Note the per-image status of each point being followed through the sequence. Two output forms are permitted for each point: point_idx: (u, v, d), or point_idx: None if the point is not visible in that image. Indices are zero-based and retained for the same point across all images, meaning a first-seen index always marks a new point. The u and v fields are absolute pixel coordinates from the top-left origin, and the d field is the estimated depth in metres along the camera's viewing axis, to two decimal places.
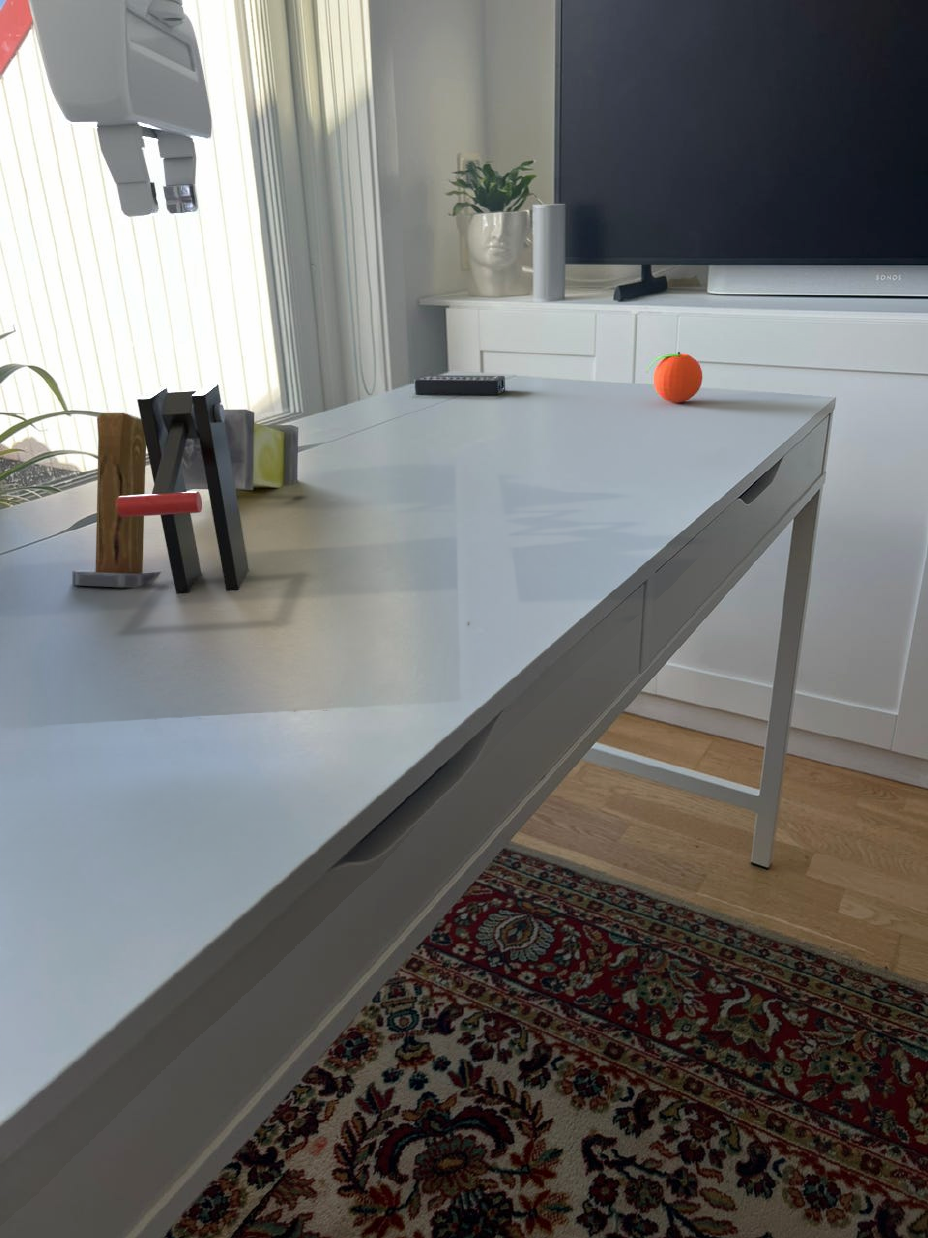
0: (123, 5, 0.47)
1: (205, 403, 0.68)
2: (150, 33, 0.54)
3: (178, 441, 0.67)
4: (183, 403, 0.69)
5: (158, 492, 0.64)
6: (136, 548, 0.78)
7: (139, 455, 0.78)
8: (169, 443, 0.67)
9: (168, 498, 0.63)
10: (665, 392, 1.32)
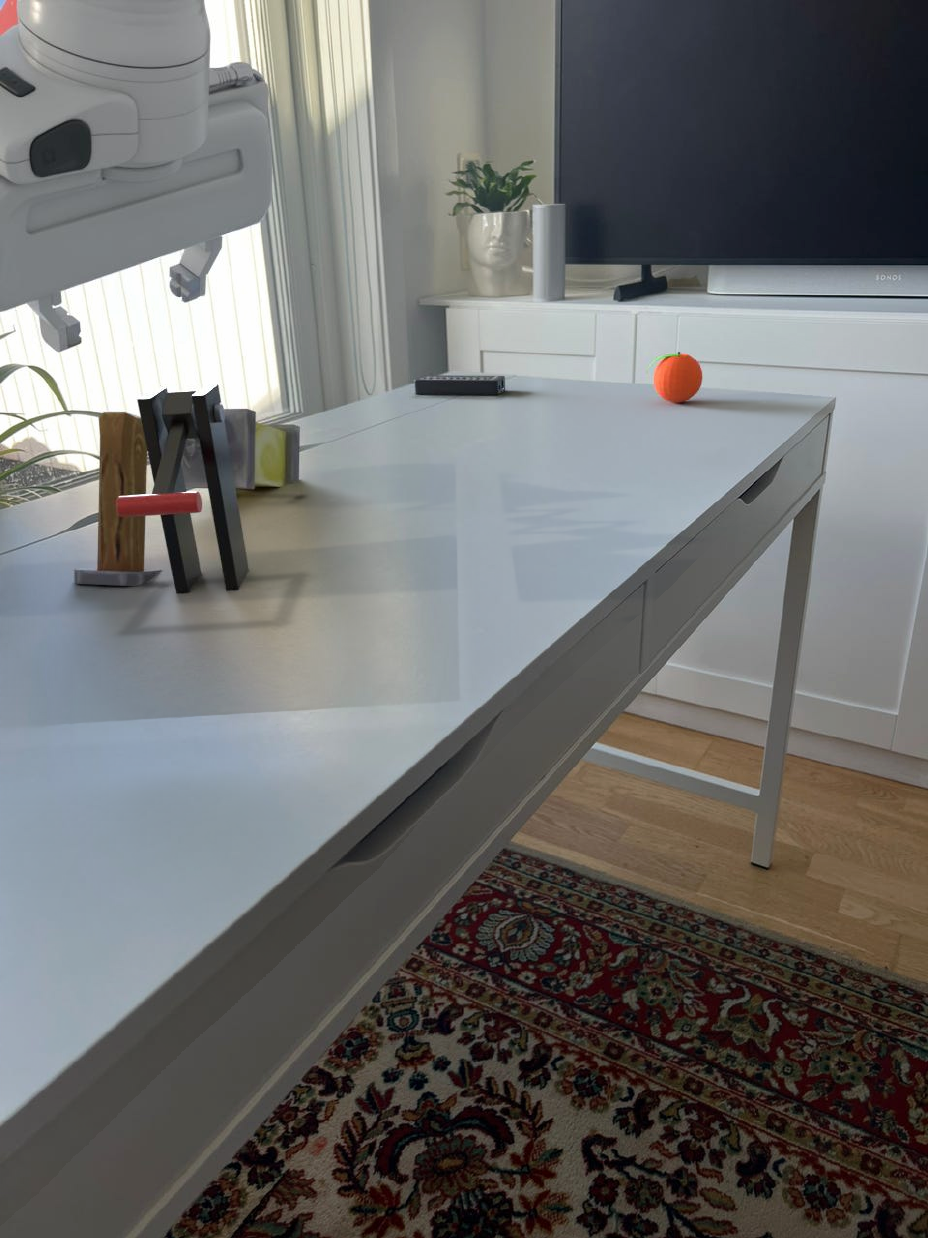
0: None
1: (205, 403, 0.68)
2: (114, 189, 0.49)
3: (178, 441, 0.67)
4: (183, 403, 0.69)
5: (158, 492, 0.64)
6: (137, 547, 0.78)
7: (140, 454, 0.78)
8: (169, 443, 0.67)
9: (168, 498, 0.63)
10: (665, 392, 1.32)
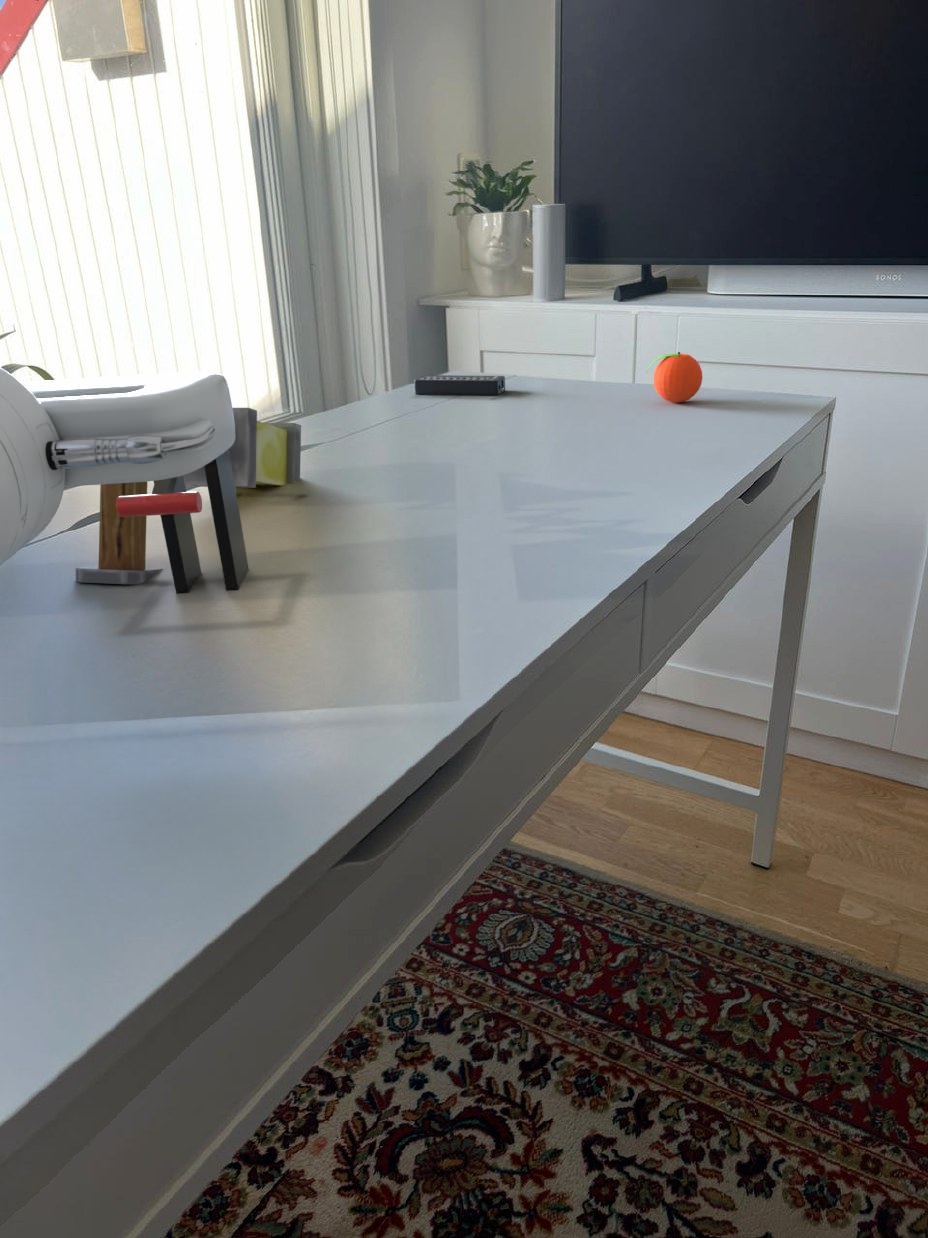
0: None
1: None
2: None
3: None
4: None
5: (158, 492, 0.64)
6: (139, 545, 0.78)
7: None
8: None
9: (168, 498, 0.63)
10: (665, 392, 1.32)
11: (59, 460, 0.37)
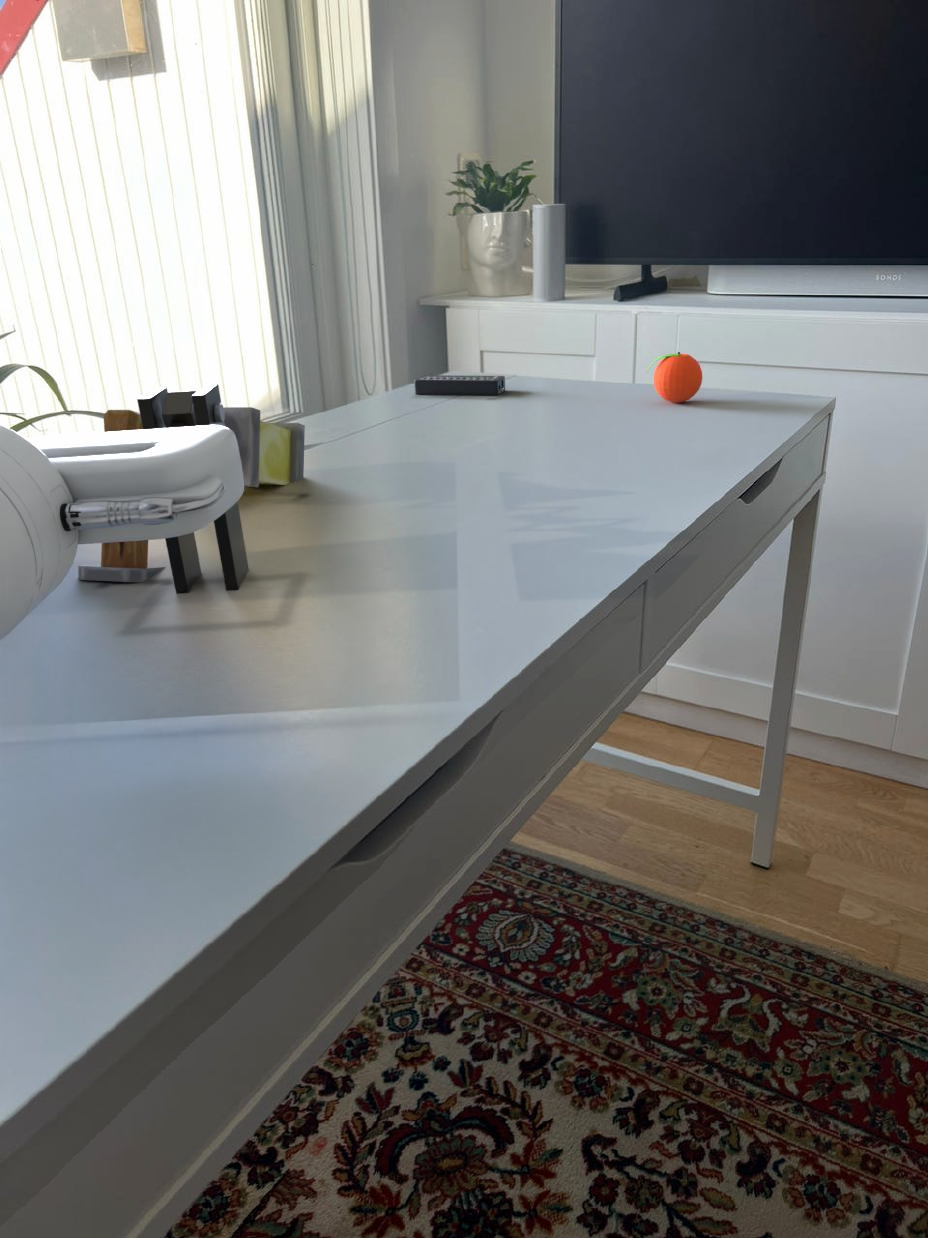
0: None
1: (205, 403, 0.68)
2: None
3: None
4: (183, 403, 0.69)
5: None
6: (141, 543, 0.79)
7: None
8: None
9: None
10: (665, 392, 1.32)
11: (73, 522, 0.38)
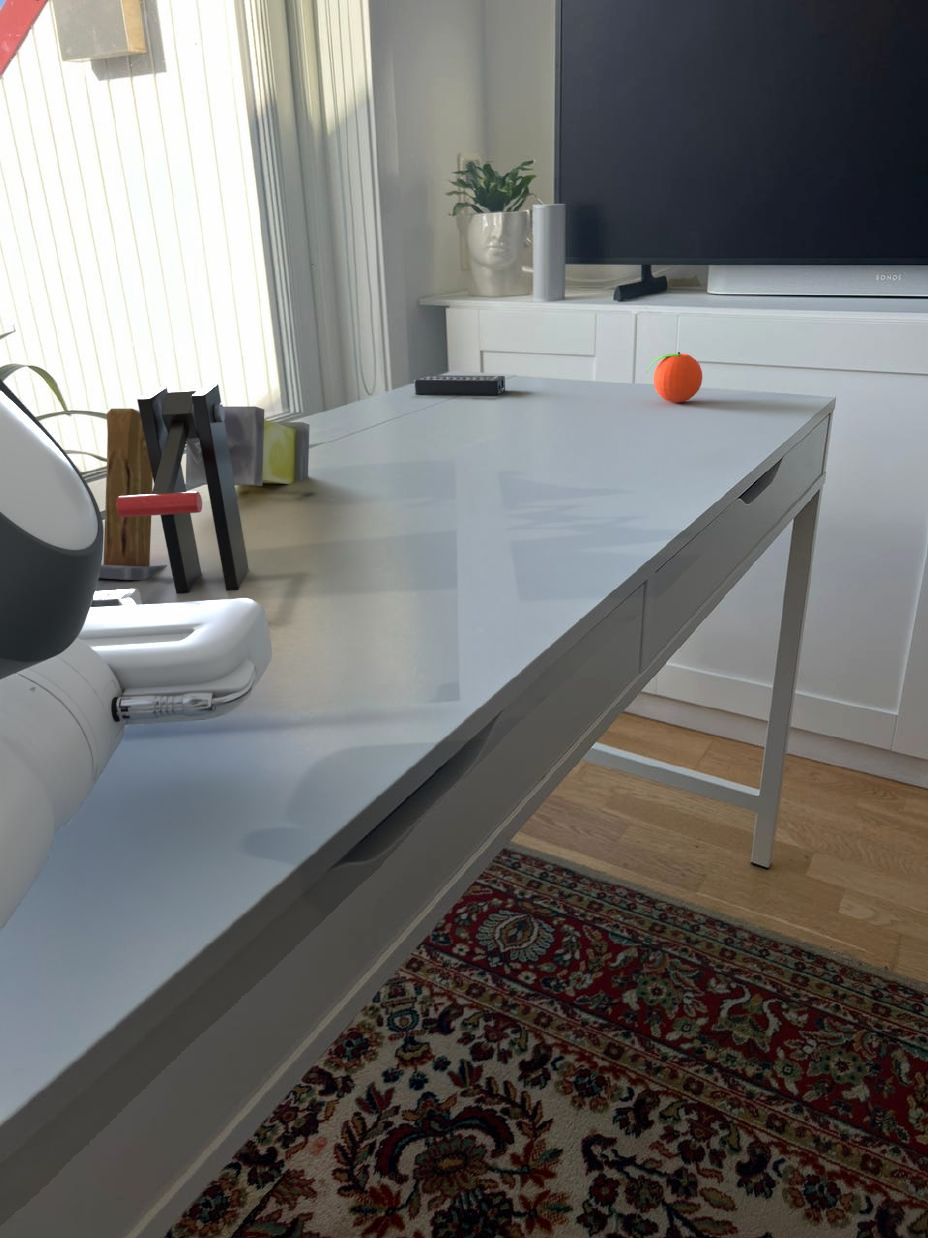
0: None
1: (205, 403, 0.68)
2: None
3: (178, 441, 0.67)
4: (183, 403, 0.69)
5: (158, 492, 0.64)
6: (143, 541, 0.79)
7: None
8: (169, 443, 0.67)
9: (168, 498, 0.63)
10: (665, 392, 1.32)
11: (123, 716, 0.42)
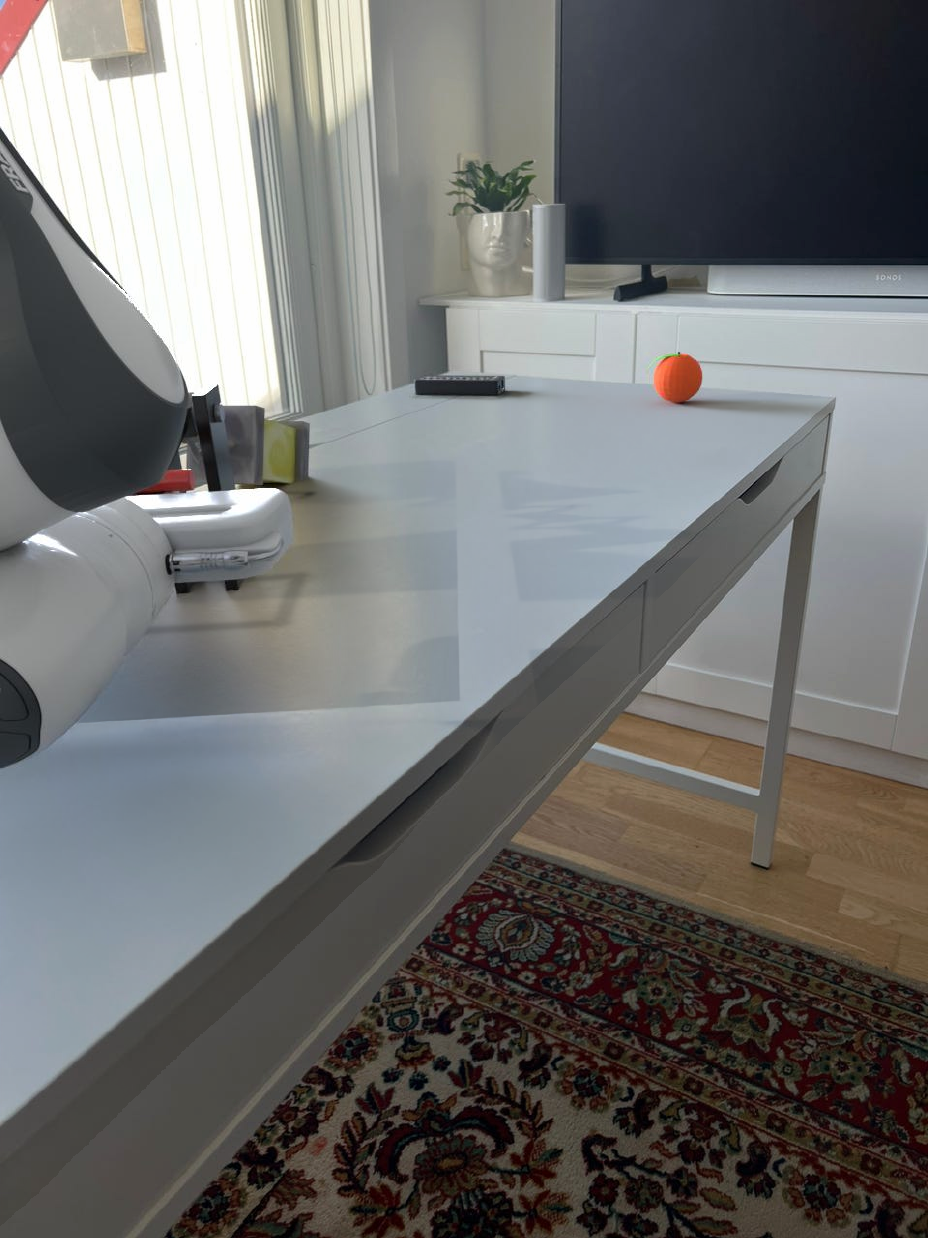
0: None
1: (205, 403, 0.68)
2: None
3: None
4: None
5: None
6: None
7: None
8: None
9: None
10: (665, 392, 1.32)
11: (175, 569, 0.52)
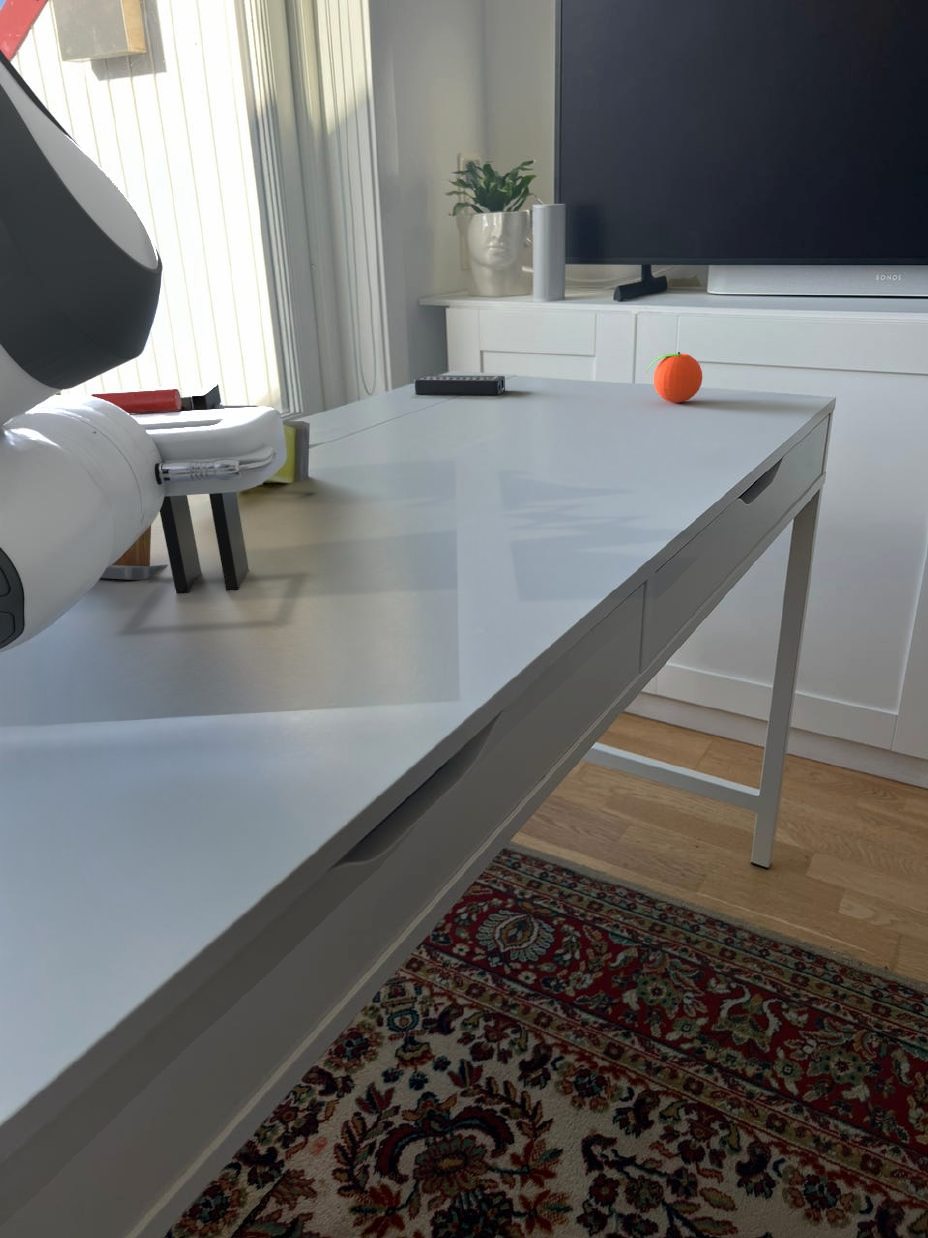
0: None
1: (205, 403, 0.68)
2: None
3: None
4: None
5: None
6: (143, 541, 0.79)
7: None
8: None
9: (146, 390, 0.60)
10: (665, 392, 1.32)
11: (164, 477, 0.50)
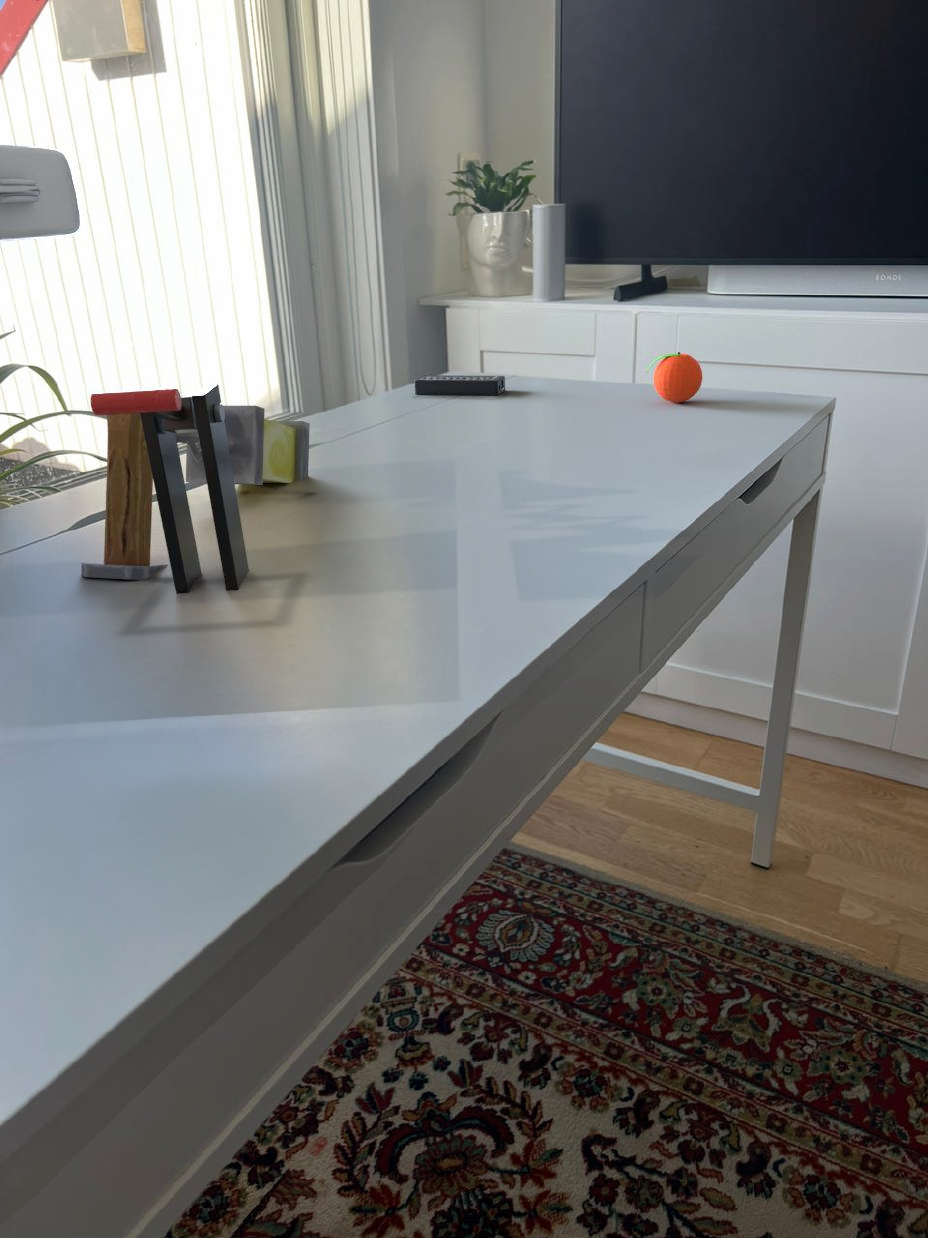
0: None
1: (205, 403, 0.68)
2: None
3: None
4: None
5: None
6: (143, 541, 0.79)
7: None
8: None
9: (146, 390, 0.60)
10: (665, 392, 1.32)
11: None
